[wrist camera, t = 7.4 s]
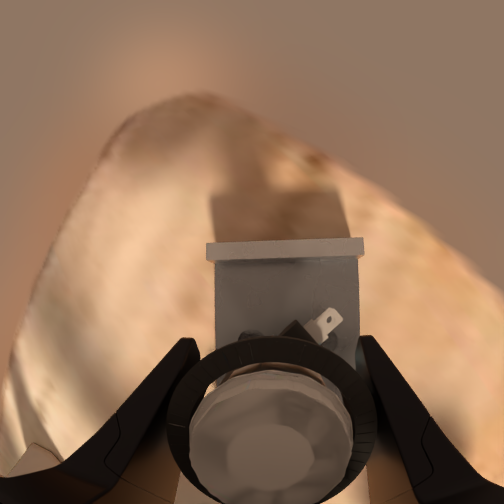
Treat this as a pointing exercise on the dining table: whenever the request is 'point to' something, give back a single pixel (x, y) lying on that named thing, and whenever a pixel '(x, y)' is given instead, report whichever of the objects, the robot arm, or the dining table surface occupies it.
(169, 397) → the robot arm
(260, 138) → the dining table surface
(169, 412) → the push button
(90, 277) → the dining table surface
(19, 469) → the flask
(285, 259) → the bracket
